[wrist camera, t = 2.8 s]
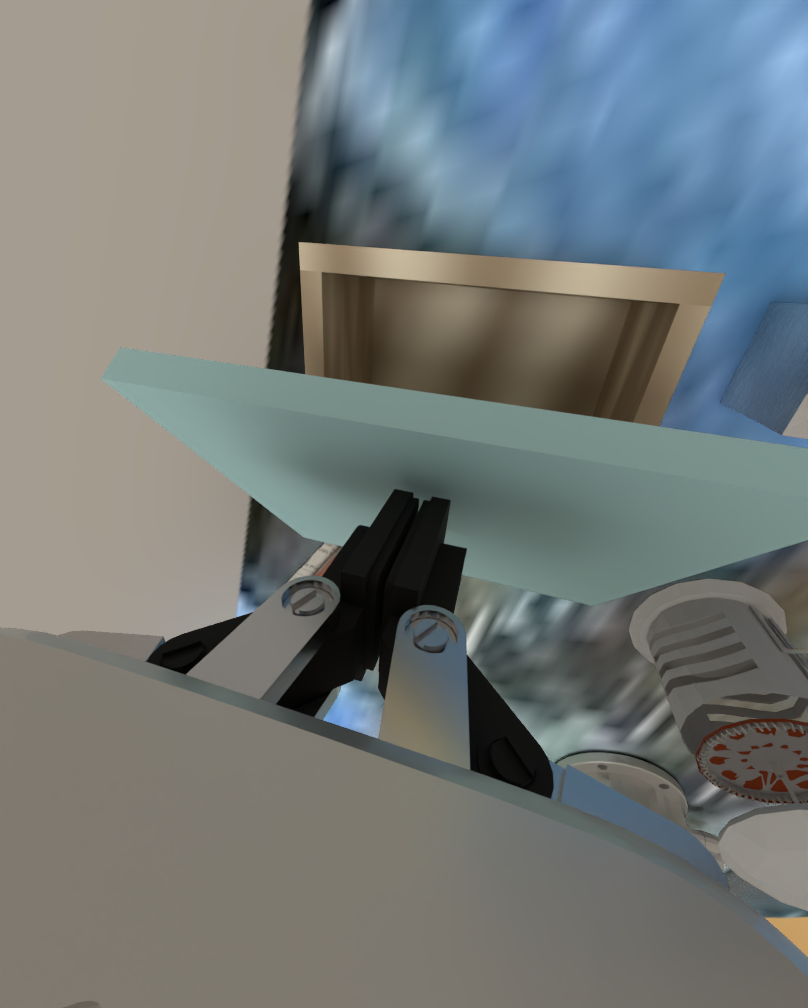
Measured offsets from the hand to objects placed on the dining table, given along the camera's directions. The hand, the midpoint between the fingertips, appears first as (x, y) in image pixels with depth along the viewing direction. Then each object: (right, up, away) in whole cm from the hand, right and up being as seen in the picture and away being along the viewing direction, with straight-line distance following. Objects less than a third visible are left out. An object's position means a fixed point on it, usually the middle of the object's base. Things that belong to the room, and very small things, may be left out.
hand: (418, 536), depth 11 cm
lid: (+1, +1, +3) cm, 4 cm away
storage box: (+4, +8, +13) cm, 16 cm away
